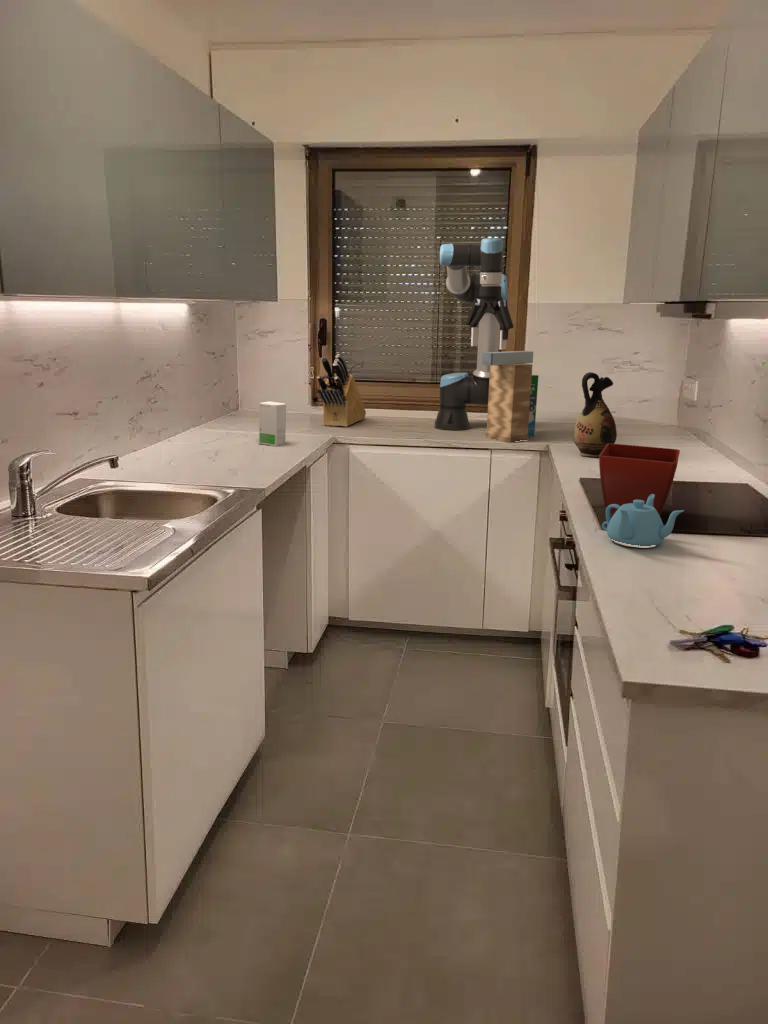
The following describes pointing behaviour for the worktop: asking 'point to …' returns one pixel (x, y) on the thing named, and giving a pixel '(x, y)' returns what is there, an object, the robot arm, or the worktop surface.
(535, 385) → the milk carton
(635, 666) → the worktop surface
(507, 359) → the foil box
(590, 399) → the ceramic jug
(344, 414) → the knife block
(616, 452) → the plant pot
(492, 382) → the oak box
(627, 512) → the teapot
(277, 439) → the skincare box
